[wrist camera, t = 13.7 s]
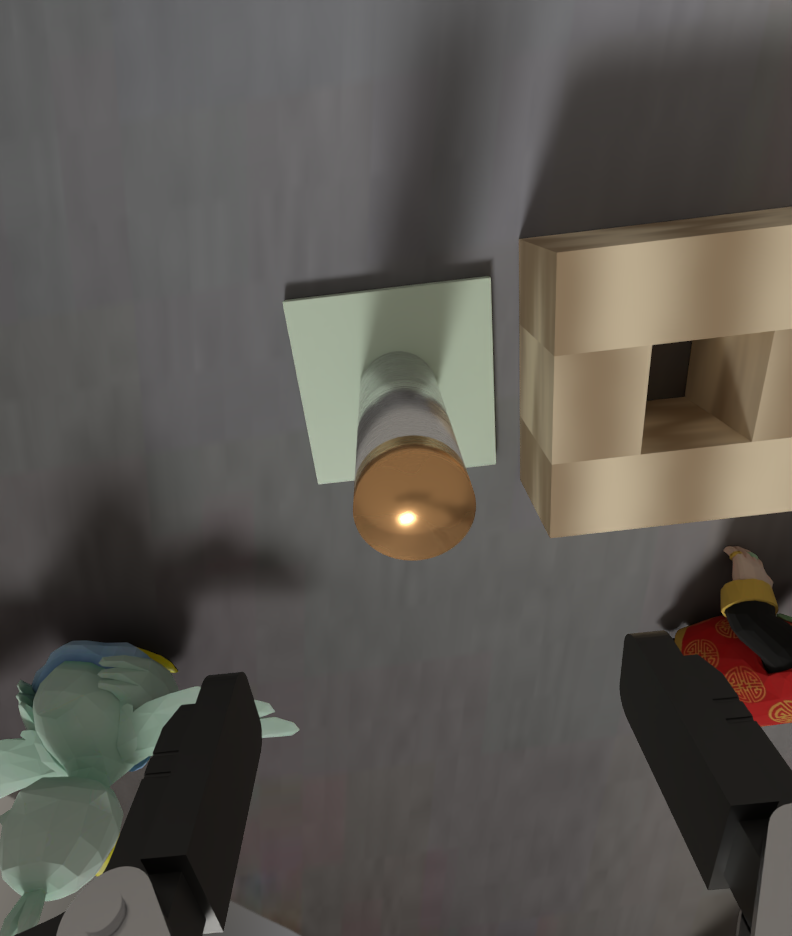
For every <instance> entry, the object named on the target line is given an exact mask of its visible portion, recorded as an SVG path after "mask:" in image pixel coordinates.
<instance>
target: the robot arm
mask: <svg viewBox="0 0 792 936" xmlns="http://www.w3.org/2000/svg"><path fill="white" fill-rule="evenodd" d="M620 696H621V702H622V706H623V709H624V712H625V715H626V717H627V719H628V722H629V724H630V726H631V728H632V730H633V732H634V734H635V736H636V739H637V741H638V743H639V745H640V747H641V749H642V751H643V753H644V756H645V758H646V760H647V762H648V764H649V766H650V768H651V770H652V772H653V775H654V777H655V779H656V781H657V783H658V785H659V787H660V789H661V792H662V794H663V796H664V798H665V800H666V802H667V804H668V806H669V808H670V811H671V813H672V815H673V817H674V819H675V821H676V823H677V825H678V828H679V830H680V832H681V834H682V836H683V838H684V840H685V842H686V845H687V847H688V849H689V851H690V853H691V855H692V857H693V859H694V861H695V864H696V866H697V868H698V870H699V872H700V874H701V876H702V878H703V881H704V883H705V885H706V887H707V889H708V890H716V889H726V888H730V889H731V891H732V893H733V895H734V897H735V899H736V901H737V903H738V905H739V907H740V912H739V916H738V922H737V929H736V936H792V770H791V769H790V767H789V766H788V765H787V763H786V762H785V760H784V759H783V758H782V756H781V755H780V753H779V752H778V751H777V749H776V748H775V746H774V745H773V744H772V742H771V741H770V739H769V738H768V737H767V735H766V734H765V732H764V731H763V730H762V728H761V727H760V725H759V724H758V723H757V721H754V720H753V716H752V714H751V713H750V711H749V710H748V709H747V707H746V706H745V704H744V703H743V702H742V701H740V700H739V696H738V695H737V693H736V692H735V690H734V689H733V688H732V686H731V685H730V683H729V682H728V681H727V679H726V678H725V676H724V675H723V674H722V673H721V672H720V671H719V670H717V669H716V668H715V667H714V666H712V665H711V664H710V663H708V662H707V661H706V660H704V659H703V658H702V657H701V656H699V655H698V654H695V655H685V656H683V654H682V652H681V651H680V649H679V648H678V646H677V645H676V643H675V642H674V640H673V639H672V637H671V636H670V635H669V634H668V633H667V632H666V631H664V630H663V631H653V632H643V633H633V634H627V635H626V636H625V640H624V648H623V658H622V667H621V677H620ZM261 746H262V727H261V721H260V717H259V714H258V711H257V708H256V705H255V701H254V698H253V695H252V692H251V689H250V686H249V683H248V679H247V677H246V675H245V673H244V672H238V673H228V674H218V675H208V676H207V677H206V678H205V679H204V681H203V683H202V686H201V689H200V691H199V694H198V697H197V700H196V703H195V704H185V705H181V706H180V707H179V708H178V709H177V711H176V712H175V713H174V714H173V716H172V717H171V718H170V719H169V720H168V722H167V723H166V724H165V725H164V727H163V728H162V731H161V733H160V736H159V738H158V741H157V743H156V746H155V748H154V751H153V757H152V758H150V761H149V763H148V766H147V768H146V771H145V773H144V779H142V781H141V783H140V786H139V788H138V791H137V793H136V796H135V798H134V801H133V803H132V806H131V808H130V811H129V813H128V816H127V818H126V821H125V823H124V826H123V828H122V831H121V833H120V836H119V838H118V841H117V843H116V846H115V848H114V851H113V853H112V856H111V858H110V860H109V862H108V865H107V867H106V869H105V870H104V872H103V874H101V875H100V876H98V877H96V878H95V879H93V880H92V881H91V882H90V883H89V884H87V885H86V886H85V887H84V888H83V889H82V890H81V891H80V892H79V893H78V894H77V896H76V897H75V898H74V899H73V901H72V902H71V903H70V905H69V906H68V908H67V910H66V911H65V912H63V913H62V914H60V915H58V916H57V917H54V918H52V919H50V920H48V921H46V922H44V923H41V924H39V925H37V926H35V927H32V928H30V929H28V930H25V931H23V932H21V933H19V934H16V935H14V936H202V935H203V934H207V933H217V932H223V931H224V926H225V921H226V917H227V912H228V907H229V902H230V897H231V893H232V888H233V883H234V878H235V873H236V869H237V864H238V859H239V854H240V849H241V844H242V840H243V835H244V830H245V825H246V820H247V816H248V811H249V806H250V801H251V796H252V792H253V787H254V782H255V777H256V772H257V768H258V763H259V758H260V753H261Z"/></svg>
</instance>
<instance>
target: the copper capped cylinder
mask: <svg viewBox="0 0 792 936" xmlns="http://www.w3.org/2000/svg"><path fill="white" fill-rule="evenodd" d="M475 511H476V500H475V495H474V491H473V488H472V485H471V482H470V479H469V476H468V473H467V470H466V467H465V464H464V461H463V458H462V455H461V452H460V449H459V446H458V443H457V440H456V437H455V434H454V432H453V429H452V426H451V423H450V420H449V417H448V414H447V411H446V408H445V405H444V402H443V399H442V396H441V393H440V390H439V387H438V384H437V381H436V378H435V375H434V373H433V371H432V369H431V368H430V366H429V365H428V364H427V363H426V362H425V361H424V360H423V359H421V358H420V357H418V356H416V355H414V354H412V353H408V352H401V351H396V352H389V353H386V354H383V355H381V356H379V357H378V358H376V359H375V360H373V361H372V362H371V363H370V364H369V365H368V366H367V368H366V369H365V371H364V373H363V375H362V378H361V382H360V392H359V410H358V429H357V447H356V465H355V483H354V502H353V516H354V521H355V524H356V527H357V529H358V531H359V533H360V535H361V536H362V537H363V539H364V540H365V541H366V542H367V543H368V544H369V545H370V546H371V547H373V548H374V549H375V550H377V551H378V552H380V553H382V554H384V555H387V556H389V557H392V558H396V559H401V560H423V559H428V558H432V557H435V556H438V555H440V554H443V553H445V552H446V551H448V550H450V549H451V548H453V547H454V546H455V545H457V544H458V543H459V542H460V541H461V540H462V539H463V538H464V536H465V535H466V534H467V532H468V531H469V529H470V527H471V525H472V523H473V520H474V517H475Z"/></svg>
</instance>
